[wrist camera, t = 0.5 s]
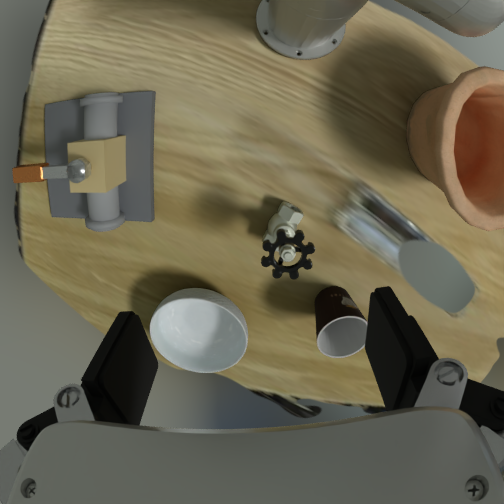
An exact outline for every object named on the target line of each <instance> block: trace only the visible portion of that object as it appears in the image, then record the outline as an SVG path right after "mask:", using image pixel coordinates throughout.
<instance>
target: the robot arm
mask: <svg viewBox="0 0 504 504" xmlns="http://www.w3.org/2000/svg"><path fill="white" fill-rule="evenodd" d="M267 1H269V3H268V2H267ZM367 1H368V0H262V1H261V2H260V5H259V7H258V9H257V14H256V23H257V28H258V31H259V34H260V35H261V37H262V39H263V40H264V41H265V42H266V44H267V45H268V46H269V47H271V48H272V49H273V50H275V51H276V52H278V53H280V54H282V55H284V56H286V57H289V58H293V59H299V60H311V59H317V58H320V57H323V56H325V55H327V54H329V53H331V52H332V51H333V50H334V49H336V47H337V46H338V45H339V44H340V43H341V41H342V39H343V37H344V33H345V25H346V24H345V23H346V22H347V21H348V20H350V19H351V18H352V17H353V16H354V15H355V14H356V13H357V12H358V11H359V10H360V9H361V8H362V7H363V6H364V5H365V4H366V3H367ZM395 1H397V2H399V3H401V4H403V5H404V6H406V7H408V8H410V9H412V10H414V11H416V12H418V13H419V14H421V15H423V16H425V17H427V18H428V19H430V20H432V21H433V22H435V23H437V24H438V25H440V26H442V27H444V28H446V29H448V30H449V31H451V32H453V33H456V34H458V35H461V36H466V37H477V36H482V35H485V34H487V33H489V32H491V31H493V30H494V29H495V28H497V26H499V25H500V24H501V23H502V22H503V21H504V0H395ZM265 32H266V33H268V34H267V35H265V34H264V33H265ZM332 41H333V42H334V43H335V44H332ZM297 53H300V56H298V55H297ZM365 350H366V353H367V356H368V359H369V361H370V364H371V367H372V370H373V372H374V375H375V378H376V381H377V384H378V387H379V389H380V392H381V395H382V398H383V401H384V404H385V407H386V410H387V412H382V413H377V414H372V415H366V416H361V417H355V418H348V419H342V420H336V421H329V422H322V423H314V424H306V425H296V426H285V427H272V428H255V429H223V430H221V429H219V430H218V429H217V430H216V429H179V428H162V427H149V426H139V425H140V421H141V418H142V415H143V412H144V408H145V406H146V402H147V399H148V396H149V393H150V390H151V387H152V384H153V381H154V378H155V375H156V372H157V369H158V361H157V358H156V356H155V354H154V351H153V349H152V347H151V345H150V342H149V340H148V337H147V335H146V333H145V330H144V328H143V325H142V323H141V320H140V318H139V316H138V315H137V314H136V315H135V313H134V312H133V311H126V312H120V313H119V314H118V315H117V317H116V319H115V320H114V322H113V324H112V325H111V327H110V329H109V331H108V332H107V334H106V336H105V338H104V339H103V341H102V343H101V345H100V346H99V348H98V350H97V352H96V353H95V355H94V357H93V359H92V361H91V362H90V364H89V366H88V368H87V370H86V372H85V373H84V375H83V377H82V379H81V381H82V384H81V386H79V385H77V384H69V385H66V386H64V387H62V388H61V389H60V390H59V391H58V392H57V393H56V395H55V397H54V407H52V408H51V409H49V410H47V411H45V412H43V413H41V414H39V415H37V416H35V417H33V418H31V419H30V420H28V421H26V422H24V423H23V424H22V425H21V426H20V427H19V429H18V432H17V440H16V441H15V440H14V439H12V440H11V441H10V442H9V443H8V444H7V445H6V446H4V447H3V448H2V449H1V450H0V501H1V503H2V504H504V391H501V390H498V389H495V388H493V387H490V386H487V385H484V384H481V383H479V382H476V381H473V380H470V379H468V373H467V369H466V368H465V366H464V365H463V364H462V363H461V362H459V361H458V360H455V359H452V358H442V359H439V358H438V357H437V355H436V353H435V352H434V350H433V348H432V346H431V345H430V343H429V341H428V340H427V338H426V336H425V335H424V333H423V331H422V330H421V328H420V326H419V325H418V323H417V321H416V320H415V318H414V317H413V316H411V315H410V316H408V314H407V313H406V311H405V309H404V308H403V306H402V305H401V303H400V301H399V300H398V298H397V297H396V295H395V294H394V292H393V290H392V289H391V287H389V286H387V287H381V288H376V289H375V292H372V293H371V295H370V305H369V314H368V323H367V332H366V340H365Z"/></svg>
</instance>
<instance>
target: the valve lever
mask: <svg viewBox="0 0 504 504" xmlns="http://www.w3.org/2000/svg"><path fill="white" fill-rule="evenodd" d="M90 175H91V163H89V162H88V160H86V159H85V158H79V159H76V160H73V161H71V162H70V163H69V164H56V165H49V163H39V164H28V165H20V166H17V167H14V168H13V180H14V183H23V182H42V181H44V180H46V179H56V178H68V179H69V180H70V181H71V182H73V183H79V182H81V181H83V180H86V179H87V178H88V177H89V176H90Z"/></svg>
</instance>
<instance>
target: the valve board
mask: <svg viewBox="0 0 504 504" xmlns="http://www.w3.org/2000/svg"><path fill="white" fill-rule="evenodd" d="M155 94H156V92H155V91H145V92H131V93H120V94H118V93H117V92H109V93H96V94H89V95H85V98H79V99H73V100H67V101H61V102H56V103H51V104H46V105H45V150H46V163H49V165H56V164H69V163H70V162H71V161H73V160H76V159H79V158H85V159H86V160H88V162H89V163H91V175H90V176H89V177H88V178H87V179H86V180H83V181H81V182H79V183H73V182H71V181H70V180H69V179H68V178H56V179H47V180H48V190H49V199H50V207H51V214H52V217H64V218H85V224H86V227H87V228H88V229H91V230H93V231H100V232H101V231H109V230H113V229H116V228H118V227H119V226H120V225H122V224H123V223H124V222H125V221H143V222H152V221H153V220H154V183H153V150H154V113H155Z"/></svg>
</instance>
